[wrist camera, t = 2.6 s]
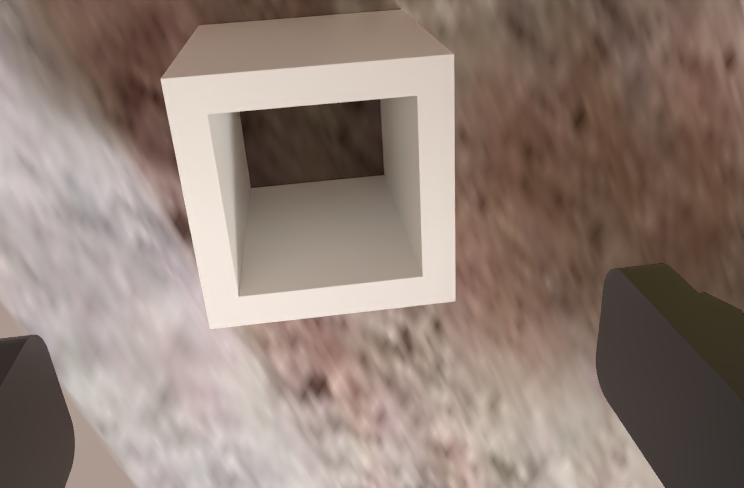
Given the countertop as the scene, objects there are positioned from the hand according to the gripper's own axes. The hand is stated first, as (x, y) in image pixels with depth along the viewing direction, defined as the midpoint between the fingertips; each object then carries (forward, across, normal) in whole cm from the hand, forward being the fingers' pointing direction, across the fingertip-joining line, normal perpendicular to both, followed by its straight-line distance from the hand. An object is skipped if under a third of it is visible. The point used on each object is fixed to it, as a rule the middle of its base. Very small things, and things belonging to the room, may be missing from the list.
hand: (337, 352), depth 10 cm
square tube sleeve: (+13, 0, 0) cm, 13 cm away
